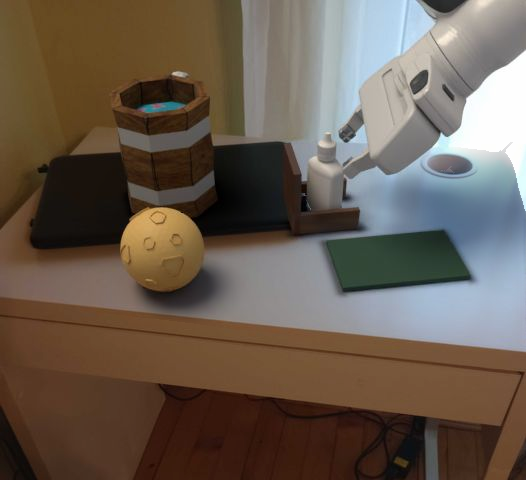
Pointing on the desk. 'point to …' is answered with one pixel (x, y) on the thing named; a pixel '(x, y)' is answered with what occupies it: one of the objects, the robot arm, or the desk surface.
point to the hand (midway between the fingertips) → (343, 154)
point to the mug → (166, 143)
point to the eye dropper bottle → (324, 177)
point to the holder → (292, 194)
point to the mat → (396, 260)
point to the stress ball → (162, 249)
